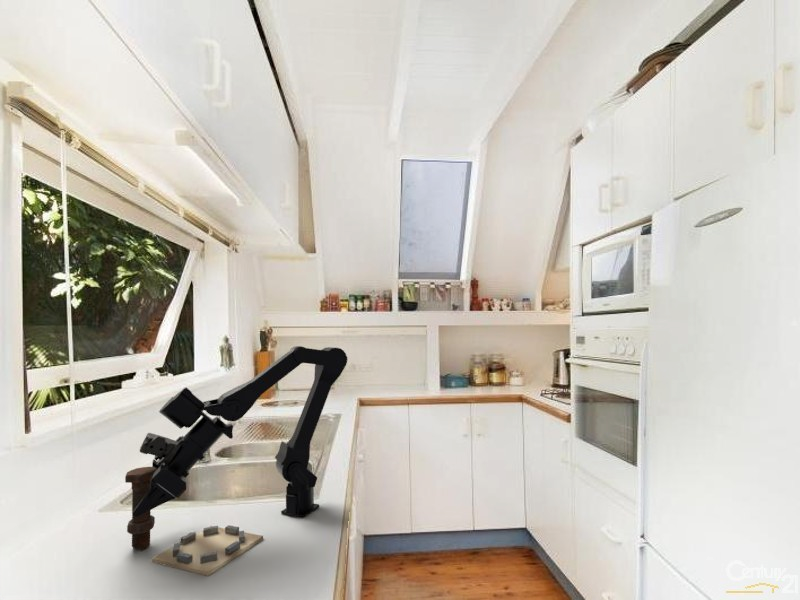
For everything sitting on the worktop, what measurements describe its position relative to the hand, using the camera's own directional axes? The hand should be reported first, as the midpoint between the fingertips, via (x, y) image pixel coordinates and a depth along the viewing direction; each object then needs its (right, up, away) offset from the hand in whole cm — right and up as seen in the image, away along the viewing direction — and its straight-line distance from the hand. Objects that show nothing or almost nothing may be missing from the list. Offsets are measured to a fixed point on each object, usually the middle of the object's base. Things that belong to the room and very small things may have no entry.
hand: (135, 507), depth 86 cm
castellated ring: (+16, -7, -2) cm, 17 cm away
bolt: (+1, -8, 0) cm, 8 cm away
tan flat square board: (+16, -7, -2) cm, 17 cm away
